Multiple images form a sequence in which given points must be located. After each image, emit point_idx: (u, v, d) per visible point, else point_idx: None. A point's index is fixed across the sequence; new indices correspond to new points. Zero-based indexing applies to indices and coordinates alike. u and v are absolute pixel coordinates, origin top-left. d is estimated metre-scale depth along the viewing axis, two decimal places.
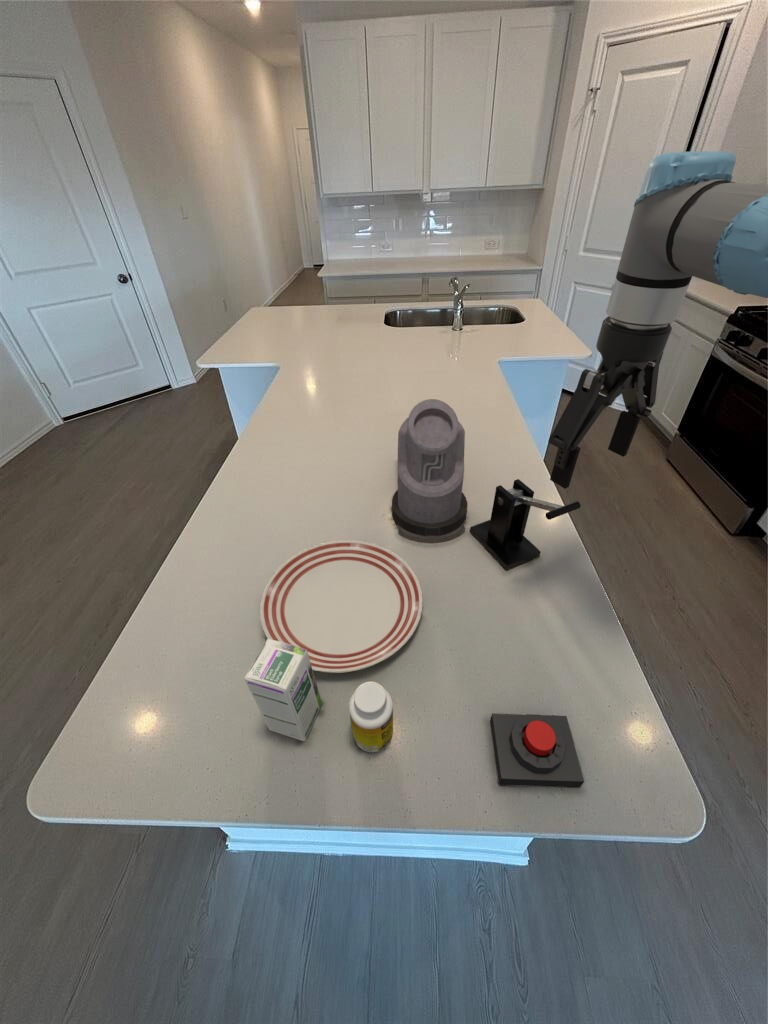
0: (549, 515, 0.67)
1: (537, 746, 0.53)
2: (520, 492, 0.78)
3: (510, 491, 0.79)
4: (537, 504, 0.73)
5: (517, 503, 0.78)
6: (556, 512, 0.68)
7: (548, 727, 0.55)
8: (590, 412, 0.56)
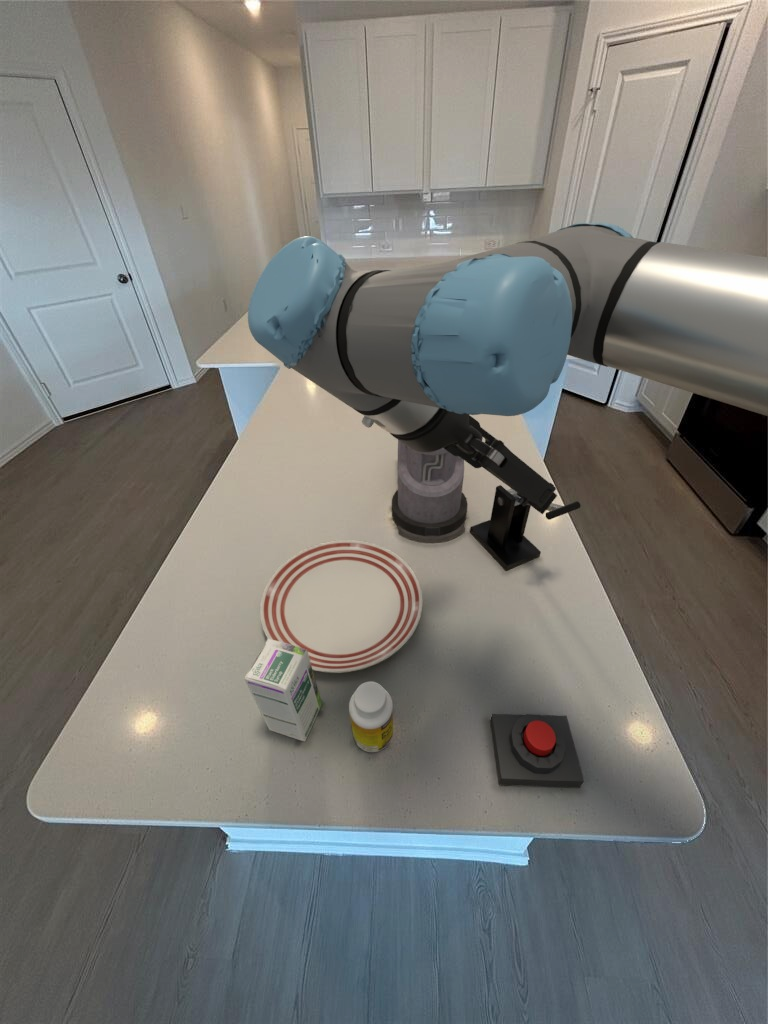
0: (549, 515, 0.67)
1: (537, 746, 0.53)
2: None
3: (510, 491, 0.79)
4: None
5: (517, 503, 0.78)
6: (556, 512, 0.68)
7: (548, 727, 0.55)
8: None
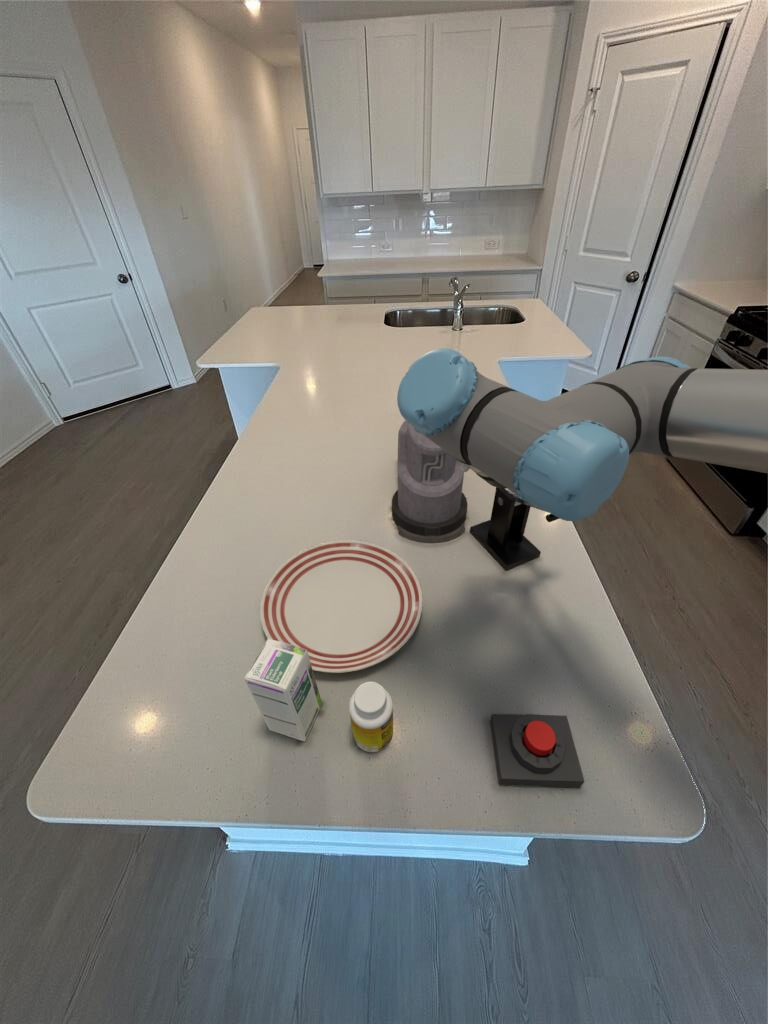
0: (549, 518, 0.68)
1: (537, 746, 0.53)
2: None
3: (510, 491, 0.79)
4: None
5: (517, 503, 0.78)
6: None
7: (548, 727, 0.55)
8: None
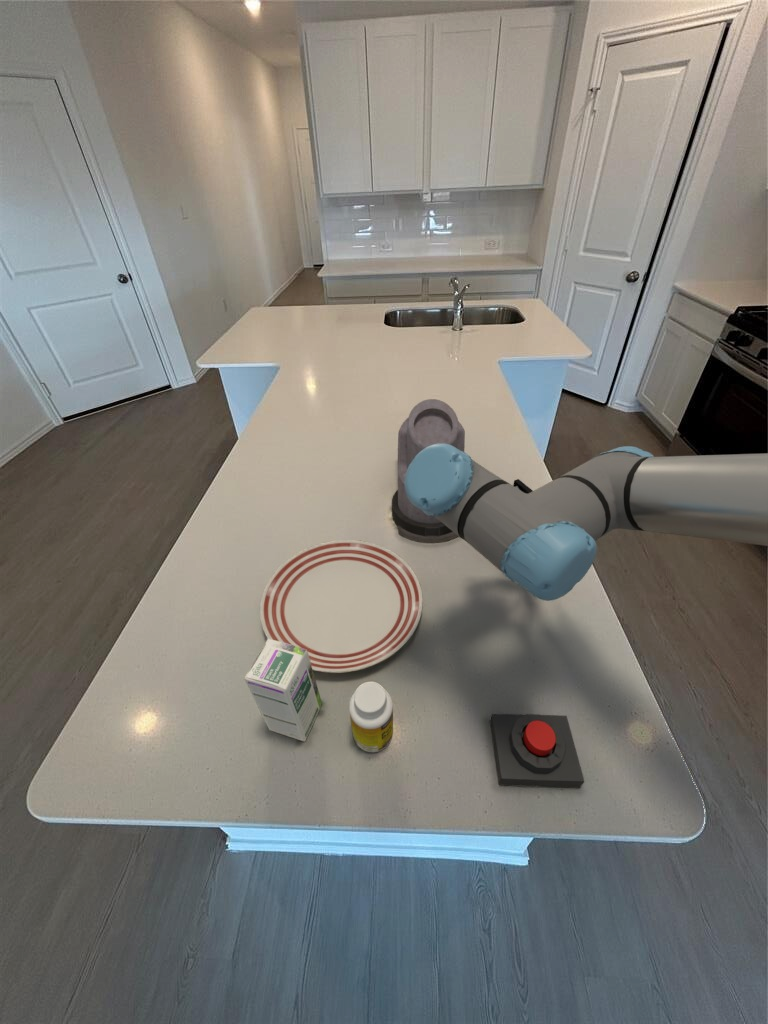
0: None
1: (537, 746, 0.53)
2: None
3: None
4: None
5: None
6: None
7: (548, 727, 0.55)
8: None
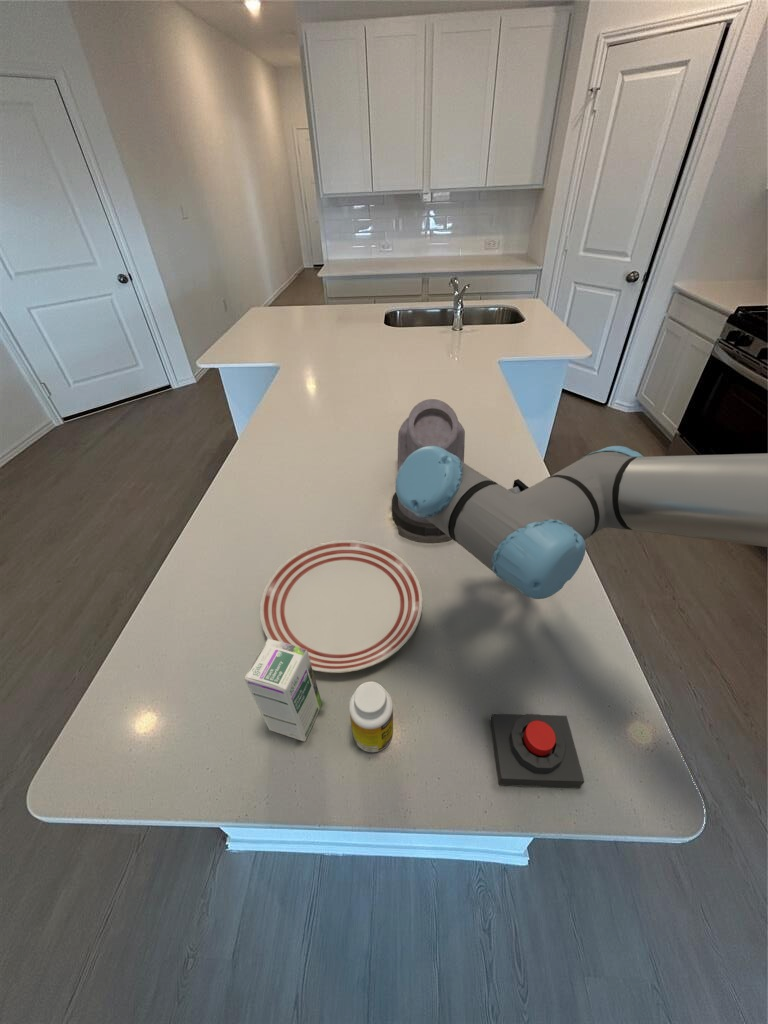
0: None
1: (537, 746, 0.53)
2: None
3: None
4: None
5: None
6: None
7: (548, 727, 0.55)
8: None
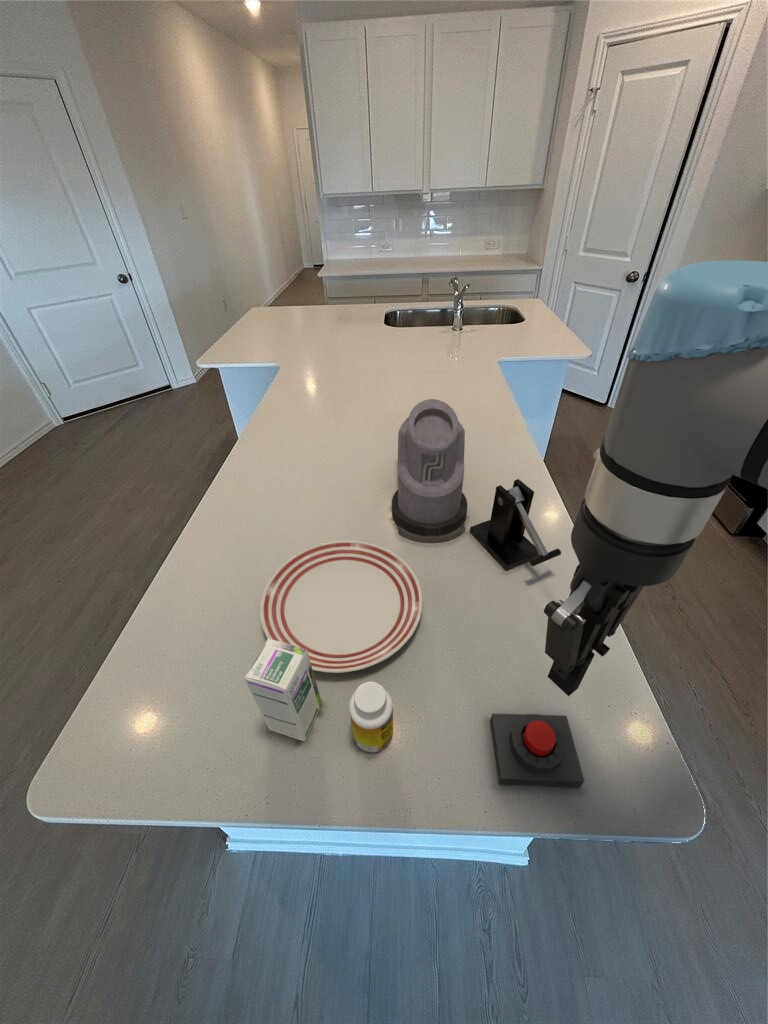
0: (533, 564, 0.75)
1: (537, 746, 0.53)
2: (522, 500, 0.78)
3: (514, 495, 0.78)
4: (529, 531, 0.77)
5: None
6: (539, 562, 0.75)
7: (548, 727, 0.55)
8: (584, 630, 0.38)
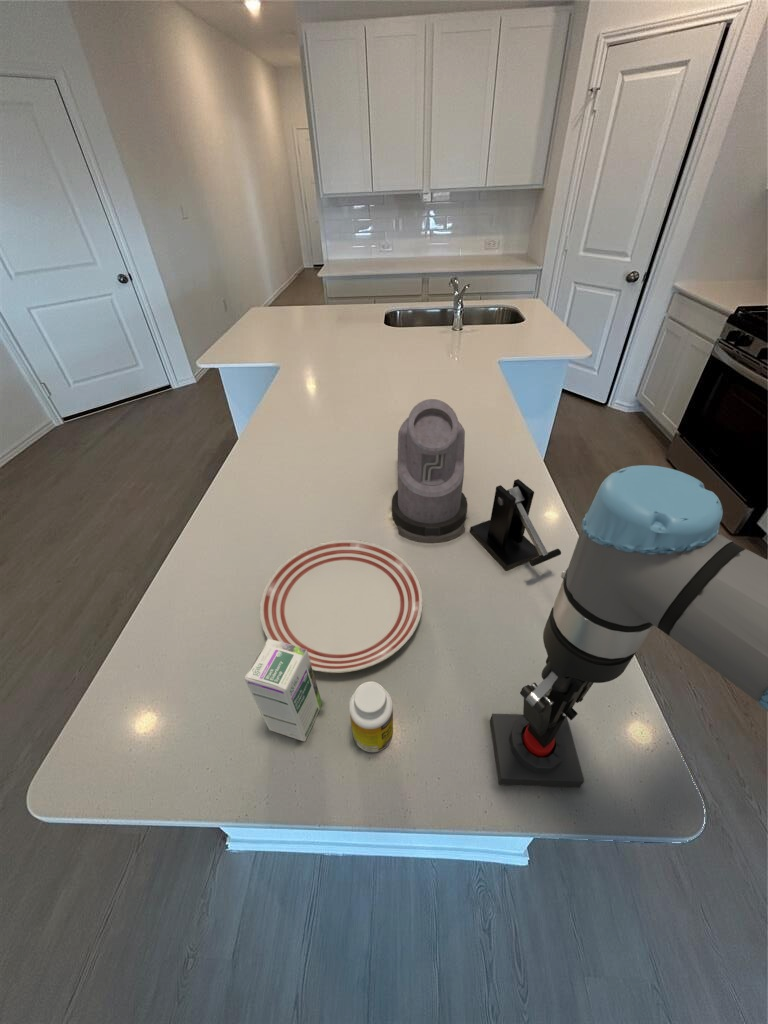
0: (533, 564, 0.75)
1: (536, 748, 0.54)
2: (522, 500, 0.78)
3: (514, 495, 0.78)
4: (529, 531, 0.77)
5: None
6: (539, 562, 0.75)
7: None
8: (554, 703, 0.46)
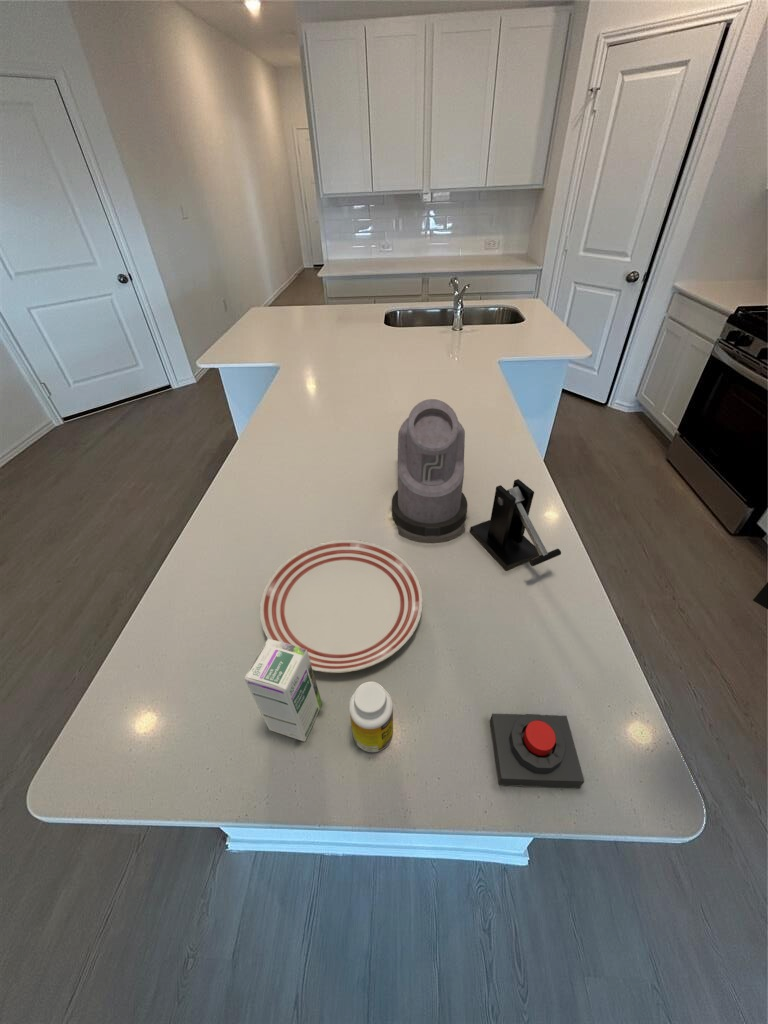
0: (533, 564, 0.75)
1: (537, 746, 0.53)
2: (522, 500, 0.78)
3: (514, 495, 0.78)
4: (529, 531, 0.77)
5: None
6: (539, 562, 0.75)
7: (548, 727, 0.55)
8: None
